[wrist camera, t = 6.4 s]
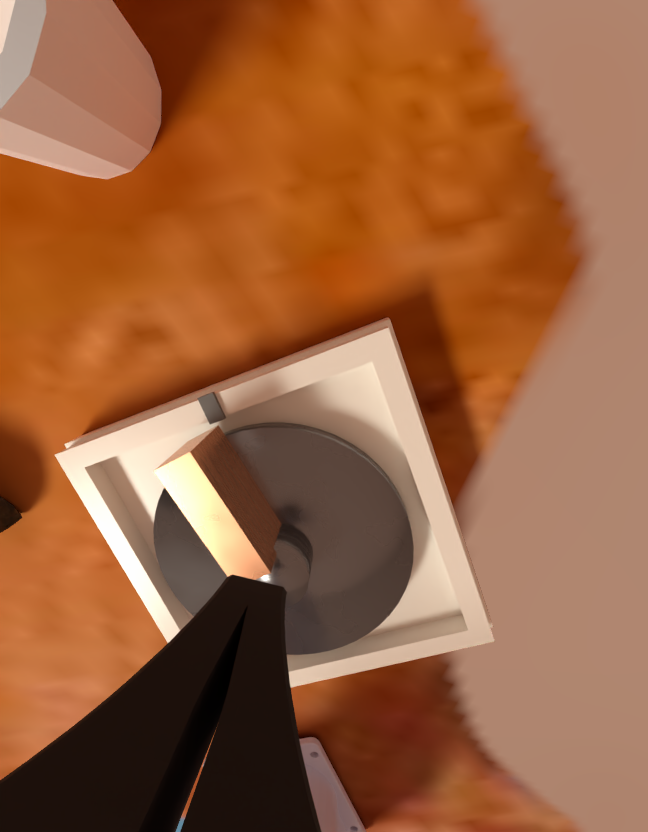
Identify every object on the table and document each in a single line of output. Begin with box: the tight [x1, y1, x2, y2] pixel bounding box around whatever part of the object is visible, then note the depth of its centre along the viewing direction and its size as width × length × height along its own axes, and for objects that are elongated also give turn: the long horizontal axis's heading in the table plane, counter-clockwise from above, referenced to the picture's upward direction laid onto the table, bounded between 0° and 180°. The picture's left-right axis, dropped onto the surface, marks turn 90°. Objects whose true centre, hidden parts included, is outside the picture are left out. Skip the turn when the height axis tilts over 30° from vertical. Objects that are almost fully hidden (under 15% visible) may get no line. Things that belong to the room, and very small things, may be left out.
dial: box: [153, 422, 414, 655], centre depth 17 cm, size 12×12×4 cm
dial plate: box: [55, 317, 495, 687], centre depth 19 cm, size 16×16×2 cm
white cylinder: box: [0, 0, 162, 179], centre depth 12 cm, size 7×7×7 cm
